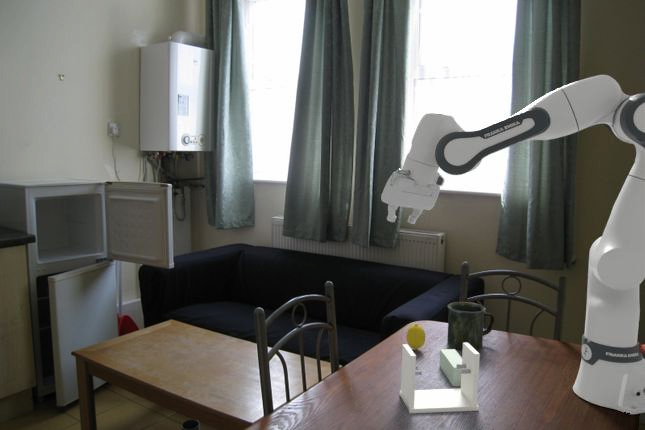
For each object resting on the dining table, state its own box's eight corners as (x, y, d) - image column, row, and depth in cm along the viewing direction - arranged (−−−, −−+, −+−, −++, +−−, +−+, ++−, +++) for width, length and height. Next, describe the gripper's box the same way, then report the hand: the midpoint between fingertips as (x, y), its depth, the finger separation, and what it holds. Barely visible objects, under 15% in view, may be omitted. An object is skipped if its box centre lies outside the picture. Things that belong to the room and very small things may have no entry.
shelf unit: (463, 392, 125) (466, 341, 124) (478, 410, 116) (481, 355, 115) (399, 394, 123) (401, 342, 122) (410, 413, 115) (412, 357, 113)
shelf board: (439, 366, 141) (440, 349, 140) (454, 366, 141) (454, 349, 140) (453, 386, 129) (453, 367, 128) (468, 386, 129) (469, 367, 128)
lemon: (424, 354, 149) (425, 327, 148) (405, 352, 150) (406, 326, 149) (424, 347, 154) (425, 321, 153) (406, 345, 155) (407, 320, 154)
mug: (440, 339, 161) (442, 302, 160) (484, 337, 163) (486, 301, 162) (453, 352, 151) (455, 312, 149) (500, 350, 152) (502, 311, 151)
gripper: (405, 171, 124) (386, 224, 127) (448, 181, 139) (430, 228, 142) (385, 164, 128) (368, 215, 131) (429, 174, 143) (412, 220, 146)
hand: (400, 222), depth 136 cm, fingers open, 8 cm apart
